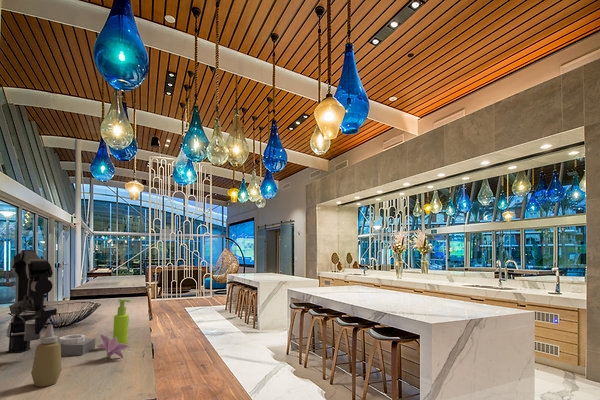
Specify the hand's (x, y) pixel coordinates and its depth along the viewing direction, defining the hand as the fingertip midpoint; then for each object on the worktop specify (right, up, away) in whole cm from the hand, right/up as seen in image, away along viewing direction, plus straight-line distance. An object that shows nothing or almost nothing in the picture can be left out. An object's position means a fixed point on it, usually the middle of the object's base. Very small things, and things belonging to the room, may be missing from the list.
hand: (32, 333), depth 152 cm
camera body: (+9, -11, +11) cm, 18 cm away
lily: (+31, -10, -1) cm, 32 cm away
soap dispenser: (+25, -13, +20) cm, 34 cm away
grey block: (0, -2, 0) cm, 2 cm away
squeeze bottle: (+24, -6, -29) cm, 38 cm away
